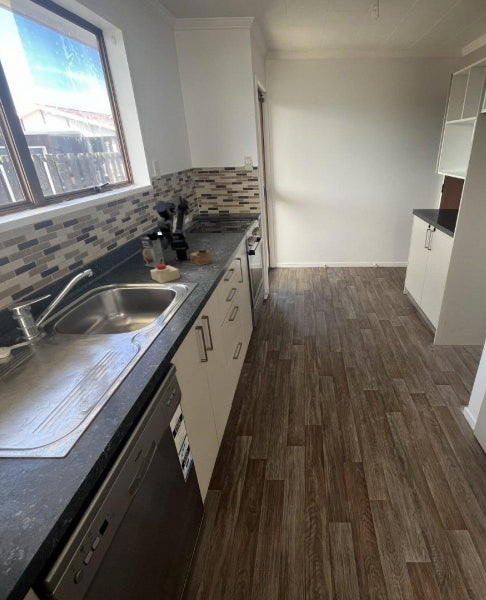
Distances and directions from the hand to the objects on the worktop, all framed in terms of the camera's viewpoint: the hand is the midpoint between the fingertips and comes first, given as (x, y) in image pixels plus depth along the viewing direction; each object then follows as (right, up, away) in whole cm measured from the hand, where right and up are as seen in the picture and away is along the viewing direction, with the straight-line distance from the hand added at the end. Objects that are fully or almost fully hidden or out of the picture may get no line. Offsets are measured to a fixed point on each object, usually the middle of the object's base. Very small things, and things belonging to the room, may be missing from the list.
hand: (164, 249), depth 168 cm
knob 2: (+14, +1, +18) cm, 23 cm away
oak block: (+12, -4, +22) cm, 26 cm away
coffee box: (-14, -7, +19) cm, 24 cm away
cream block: (+1, -15, 0) cm, 15 cm away
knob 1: (+1, -11, -5) cm, 12 cm away
